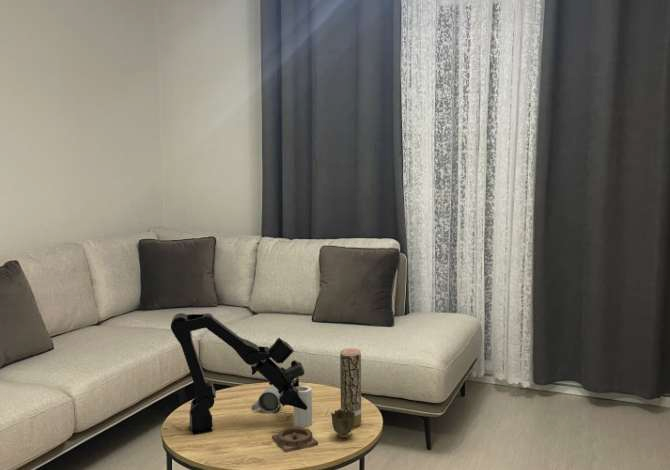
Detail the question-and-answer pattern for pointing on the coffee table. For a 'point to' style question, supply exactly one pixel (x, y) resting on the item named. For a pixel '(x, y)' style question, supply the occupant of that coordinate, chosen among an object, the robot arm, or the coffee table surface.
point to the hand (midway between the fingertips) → (306, 404)
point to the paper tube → (351, 382)
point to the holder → (294, 438)
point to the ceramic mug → (268, 400)
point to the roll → (301, 415)
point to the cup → (343, 422)
